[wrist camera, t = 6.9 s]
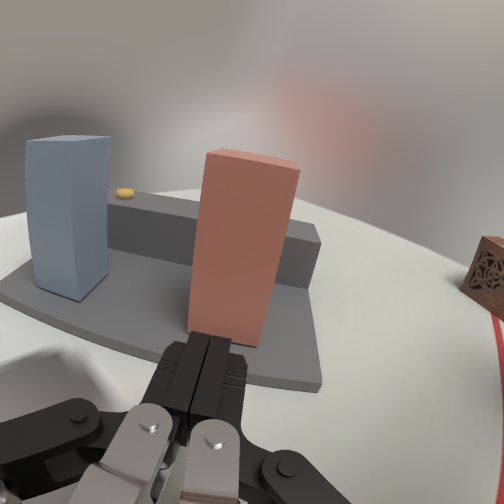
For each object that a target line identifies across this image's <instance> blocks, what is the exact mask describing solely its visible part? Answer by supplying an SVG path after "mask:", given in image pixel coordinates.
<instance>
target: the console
mask: <svg viewBox="0 0 504 504" xmlns="http://www.w3.org/2000/svg"><path fill="white" fill-rule="evenodd" d="M199 204H200V202H197V201H192V200H186V199H180V198H174V197H168V196H161V195H155V194H149V193H142V192H135V191H134V190H133V189H130V188H120V189H115V188H108V200H107V247H108V271H109V273H108V274H107V275H106V276H105V277H104V278H103V279H102V280H101V281H100V282H99V283H98V284H97V285H96V286H95V287H94V288H93V289H92V290H91V291H90V292H89V293H88V294H87V295H86V296H85V297H84V298H83V299H82V300H81V301H80V302H79V301H77V300H74V299H71V298H68V297H65V296H62V295H59V294H57V293H54V292H51V291H49V290H46V289H43V288H41V287H38V286H37V284H36V279H35V273H34V268H33V262H32V259H30V260H29V261H27V262H26V263H25V264H23V265H22V266H20V267H19V268H17V269H16V270H15V271H13V272H12V273H10V274H9V275H8V276H6V277H5V278H4V279H2V280H1V281H0V301H1V302H3V303H5V304H7V305H9V306H11V307H13V308H15V309H17V310H19V311H21V312H23V313H25V314H27V315H29V316H31V317H33V318H35V319H38V320H40V321H42V322H44V323H46V324H49V325H51V326H53V327H56V328H58V329H60V330H63V331H65V332H68V333H70V334H73V335H75V336H78V337H80V338H83V339H86V340H88V341H91V342H94V343H96V344H99V345H102V346H105V347H108V348H111V349H114V350H117V351H120V352H123V353H126V354H129V355H132V356H135V357H139V358H142V359H145V360H149V361H152V362H156V363H159V361H160V360H161V357H162V355H163V353H164V350H165V348H166V347H168V346H169V345H170V344H171V343H173V342H174V341H179V342H183V343H187V340H188V338H189V335H190V333H188V332H187V327H188V313H189V300H190V288H191V277H192V266H193V256H194V247H195V238H196V229H197V220H198V212H199ZM320 247H321V241H320V239H319V236H318V233H317V231H316V228H315V226H314V224H311V223H306V222H301V221H297V220H292V219H289V223H288V227H287V231H286V235H285V240H284V244H283V248H282V252H281V257H280V261H279V265H278V269H277V273H276V277H275V281H274V285H273V290H272V294H271V298H270V302H269V306H268V309H267V313H266V317H265V321H264V325H263V329H262V333H261V337H260V341H259V344H258V347H255V346H250V345H245V344H239V343H234V342H231V346H230V352H229V353H235V354H240V355H244V358H245V360H246V363H247V365H248V370H247V378H246V383H248V384H254V385H260V386H267V387H273V388H281V389H288V390H296V391H305V392H315V393H318V391H319V389H320V387H321V385H322V376H321V369H320V362H319V355H318V348H317V342H316V335H315V329H314V323H313V316H312V310H311V304H310V299H309V293H308V287H309V284H310V281H311V277H312V274H313V271H314V267H315V264H316V261H317V257H318V254H319V250H320Z"/></svg>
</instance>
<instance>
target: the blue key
mask: <svg viewBox="0 0 504 504" xmlns="http://www.w3.org/2000/svg"><path fill="white" fill-rule="evenodd" d="M111 139H112V137H106V136H80V135H74V136H73V135H64V136H56V137H49V138H42V139H36V140H29V141H26V164H25V166H26V168H25V175H26V176H25V177H26V178H25V179H26V207H27V221H28V231H29V240H30V248H31V255H32V262H33V268H34V273H35V279H36V284H37V286H38V287H41V288H43V289H46V290H49V291H51V292H54V293H57V294H59V295H62V296H65V297H68V298H71V299H74V300H77V301H79V302H80V301H81V300H82V299H83V298H84V297H85V296H86V295H87V294H88V293H89V292H90V291H91V290H92V289H93V288H94V287H95V286H96V285H97V284H98V283H99V282H100V281H101V280H102V279H103V278H104V277H105V276H106V275H107V274H108V273H109V271H108V247H107V200H108V177H109V161H110V150H111Z"/></svg>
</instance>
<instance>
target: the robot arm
mask: <svg viewBox="0 0 504 504" xmlns="http://www.w3.org/2000/svg"><path fill="white" fill-rule="evenodd" d="M231 341H232V339H230V338H225V337H220V336H215V335H212V338H211V335H210V334H206V333H201V332H197V331H191V333H190V335H189V338H188V340H187V343H183V342H179V341H174V342H173V343H171V344H170V345H169V346H168V347H166V348H165V350H164V353H163V355H162V357H161V360H160V361H159V363H158V366H157V369H156V370H155V372H154V374H153V377H152V379H151V381H150V383H149V386H148V388H147V390H146V392H145V395H144V397H143V399H142V401H141V402H140V404H139V405H136V406H134V407H133V408H131V409H130V410H129V411H126V412H119V413H116V412H103V411H98V409H97V407H96V406H95V405H94V404H93V403H91V402H90V401H88V400H86V399H82V398H73V399H70V400H67V401H64V402H62V403H59V404H56V405H53V406H50V407H47V408H45V409H42V410H39V411H36V412H33V413H31V414H27V415H24V416H21V417H18V418H15V419H12V420H9V421H5V422H2V423H0V504H22V503H21V501H23V500H26V499H30V498H33V497H36V496H39V495H42V494H46V493H48V492H51V491H54V490H57V489H60V488H62V487H65V486H68V485H70V484H73V483H75V482H78V481H79V483H78V485H77V487H76V489H75V490H74V492H73V494H72V496H71V498H70V499H69V501H68V503H67V504H159V502H160V500H161V497H162V495H163V492H164V489H165V487H166V484H167V482H168V479H169V476H170V474H171V471H172V468H173V466H174V463H175V459H176V456H177V452H178V449H179V445H181V446H185V447H187V443H188V439H189V446H188V447H189V449H188V455H187V461H186V468H185V475H184V481H183V488H182V493H181V496H180V501H179V504H240V502H239V499H238V498H240V499H242V500H244V501H247V502H248V504H351V503H350V502H349V501H348V500H347V499H346V498H345V497H344V496H343V495H342V494H341V493H340V492H339V491H338V490H337V489H335V488H334V487H333V486H332V485H331V484H330V483H329V482H328V481H327V480H326V479H325V478H324V477H323V476H322V475H321V474H320V472H319V471H318V470H317V469H316V468H315V467H314V466H313V465H312V464H311V463H310V462H309V461H308V460H307V459H306V458H305V457H304V456H303V455H301V454H300V453H298V452H295V451H292V450H279V451H275V452H273V453H272V452H270V451H267V450H265V449H262V448H260V447H258V446H256V445H254V444H252V443H251V442H250V441H248V440H247V439H246V437H245V436H244V434H243V433H242V430H241V417H242V409H243V401H244V393H245V385H246V378H247V370H248V365H247V363H246V360H245V358H244V355H240V354H235V353H229V352H230V346H231Z"/></svg>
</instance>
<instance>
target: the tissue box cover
mask: <svg viewBox="0 0 504 504" xmlns="http://www.w3.org/2000/svg"><path fill="white" fill-rule="evenodd" d="M460 291H461V292H463V293H464V294H466V295H467V296H468V297H470V298H471V299H473V300H474V301H476V302H477V303H478V304H480V305H481V306H483V307H484V308H486V309H487V310H488V311H490V312H491V313H492V314H494V315H495V316H497V317H498V318H499V319H501V320H502V321H503V322H504V239H502V238H500V237H493V236H482V238H481V241H480V243H479V246H478V249H477V251H476V254H475V256H474V259H473V262H472V264H471V266H470V269H469V271H468V274H467V276H466V278H465V280H464V283H463V285H462V287H461V289H460Z"/></svg>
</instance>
